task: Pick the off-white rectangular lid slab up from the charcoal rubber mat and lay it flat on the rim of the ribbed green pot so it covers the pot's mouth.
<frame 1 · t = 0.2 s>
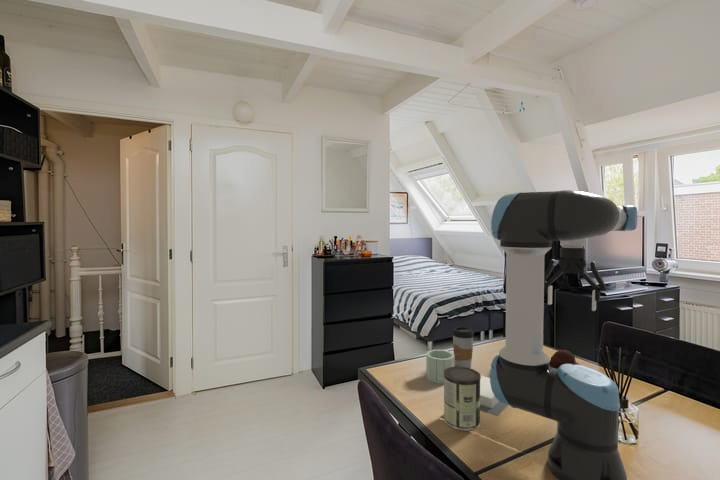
hand: (571, 307, 125), 28 cm above the table, tool pointing down, fingers open, 13 cm apart
coffee cup: (462, 366, 142), on the table
lid: (485, 395, 117), resting on mat
decorative planter: (522, 370, 138), on the table
mat: (485, 396, 117), on the table
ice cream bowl: (565, 393, 119), on the table
coffee can: (461, 421, 102), on the table
ribbed green pot: (440, 378, 131), on the table
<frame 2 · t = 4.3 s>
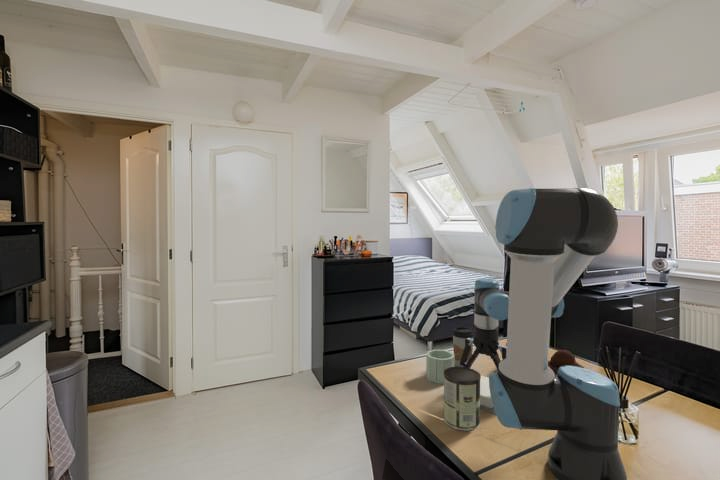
hand: (485, 392, 117), 1 cm above the table, tool pointing down, fingers closed on lid, 10 cm apart
lid: (485, 395, 117), resting on mat, touching gripper
everything else where it was.
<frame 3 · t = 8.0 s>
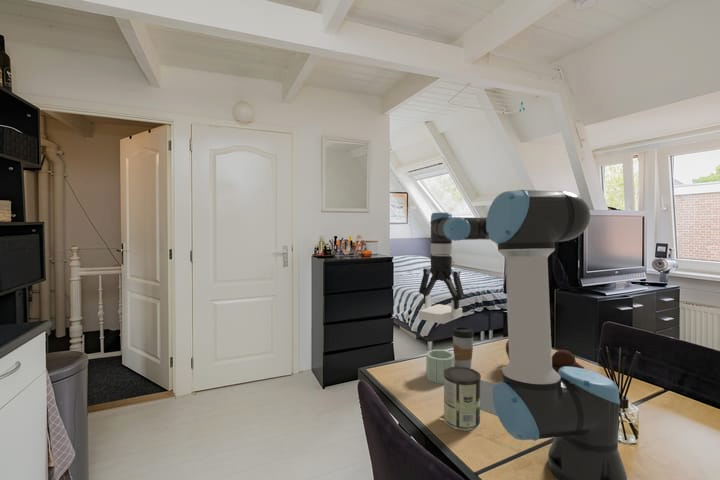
hand: (440, 315, 130), 24 cm above the table, tool pointing down, fingers closed on lid, 10 cm apart
lid: (440, 317, 130), point 23 cm above the table, touching gripper
everything else where it was.
when the fingers open (12 cm above the table, at t = 11.6 s): lid drops 2 cm, resting on ribbed green pot.
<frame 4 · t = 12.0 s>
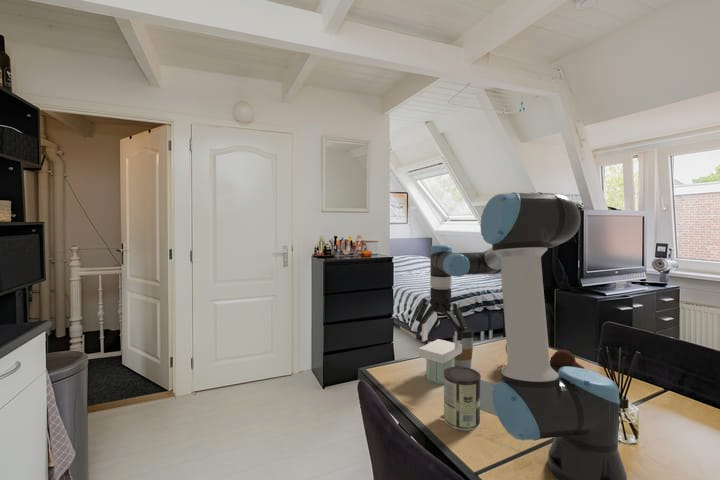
hand: (440, 344, 130), 13 cm above the table, tool pointing down, fingers open, 13 cm apart
lid: (440, 354, 130), point 9 cm above the table, touching ribbed green pot
everything else where it was.
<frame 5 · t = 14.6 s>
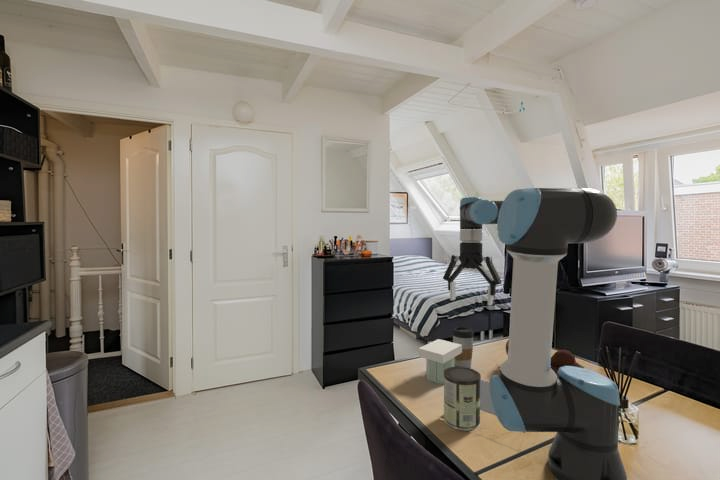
hand: (470, 302, 124), 30 cm above the table, tool pointing down, fingers open, 13 cm apart
nothing on the table moved.
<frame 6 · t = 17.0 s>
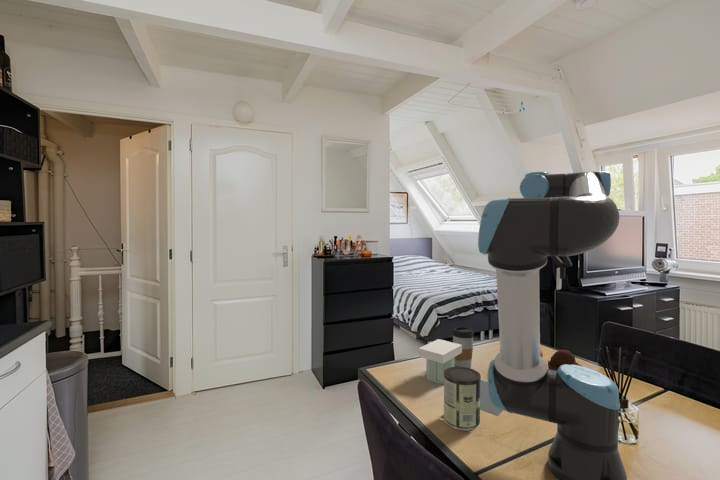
hand: (535, 286, 115), 37 cm above the table, tool pointing down, fingers open, 13 cm apart
nothing on the table moved.
at the end: lid 0.1 cm off-centre on the ribbed green pot, point 9.0 cm above the ribbed green pot's base; lid tilted 0°; lid touching ribbed green pot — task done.
